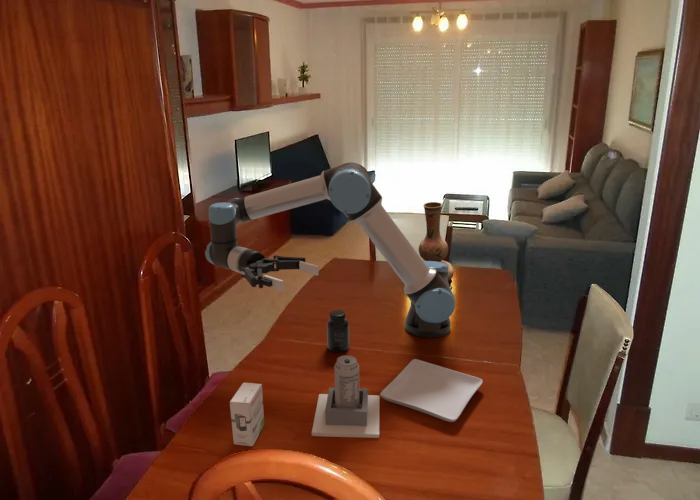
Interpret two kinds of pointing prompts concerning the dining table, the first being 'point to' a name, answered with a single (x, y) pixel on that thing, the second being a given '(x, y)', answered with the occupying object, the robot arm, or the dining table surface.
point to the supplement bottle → (338, 331)
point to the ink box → (247, 414)
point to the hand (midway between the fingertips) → (300, 278)
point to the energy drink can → (346, 382)
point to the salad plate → (432, 390)
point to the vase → (434, 238)
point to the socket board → (347, 417)
